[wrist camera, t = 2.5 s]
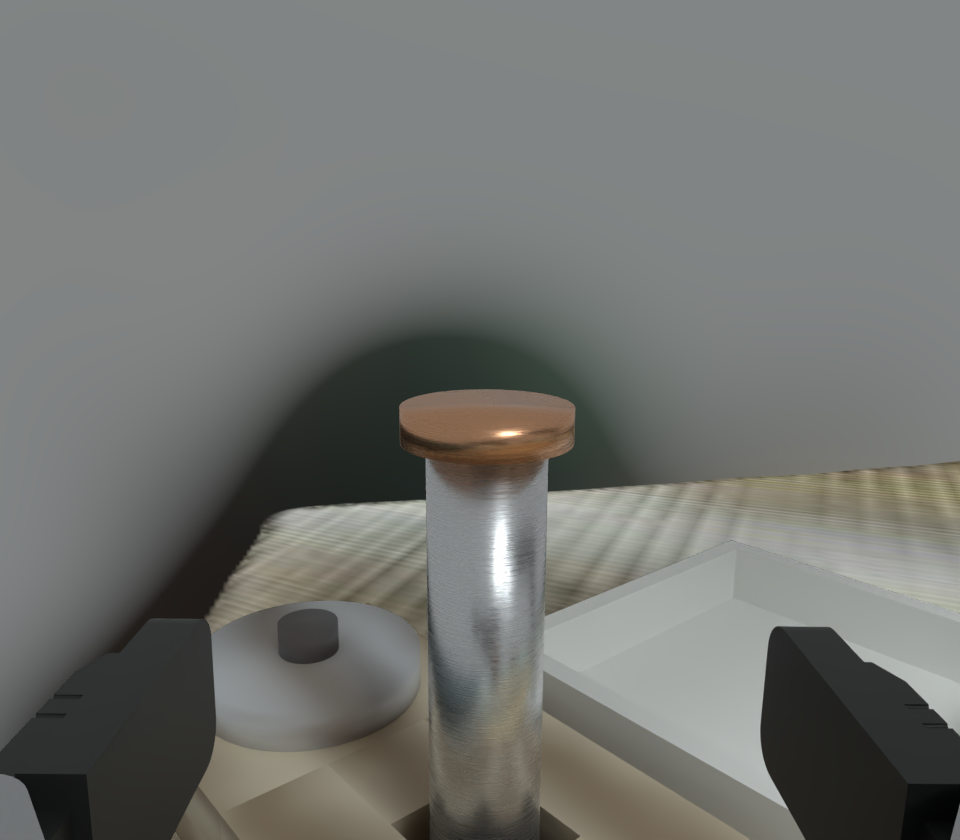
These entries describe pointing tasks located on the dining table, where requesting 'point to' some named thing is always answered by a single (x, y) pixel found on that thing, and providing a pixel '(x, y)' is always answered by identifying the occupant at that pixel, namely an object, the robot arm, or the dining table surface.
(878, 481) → the dining table surface
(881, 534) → the dining table surface
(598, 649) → the tray
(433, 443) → the lock pin
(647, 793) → the wooden peg base
